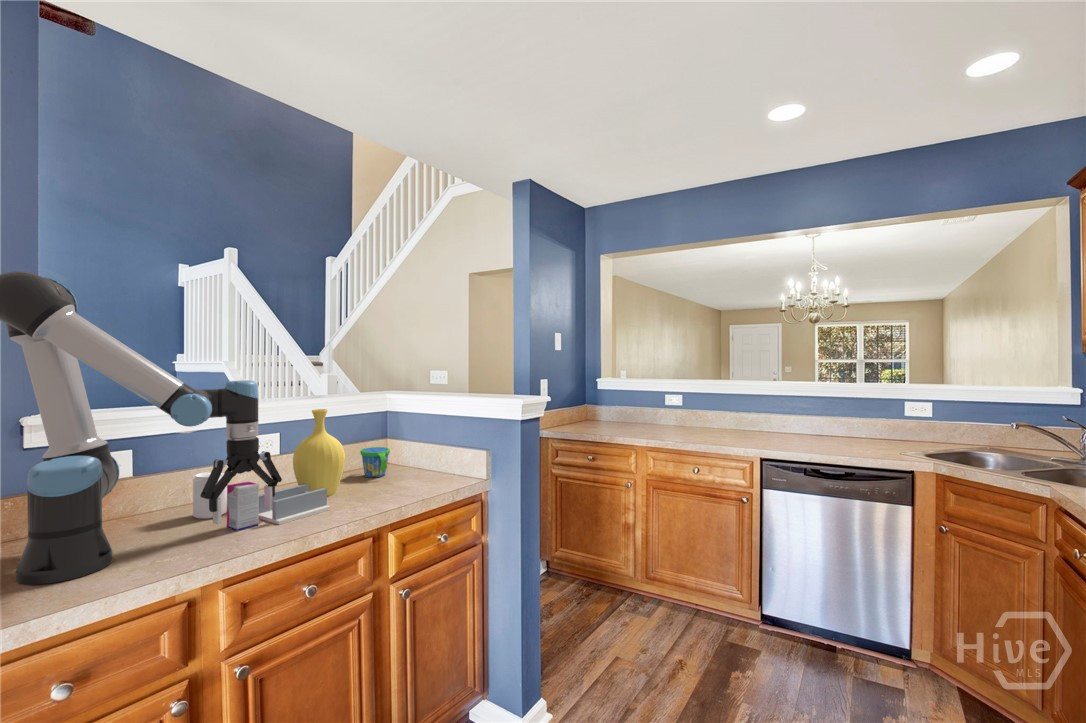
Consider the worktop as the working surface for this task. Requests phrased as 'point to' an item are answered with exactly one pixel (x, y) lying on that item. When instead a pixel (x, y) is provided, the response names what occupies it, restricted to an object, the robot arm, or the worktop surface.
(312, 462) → the vase
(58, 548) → the robot arm
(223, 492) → the beverage can
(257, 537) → the worktop surface
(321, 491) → the slot cradle
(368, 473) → the snack cup
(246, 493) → the supplement box
